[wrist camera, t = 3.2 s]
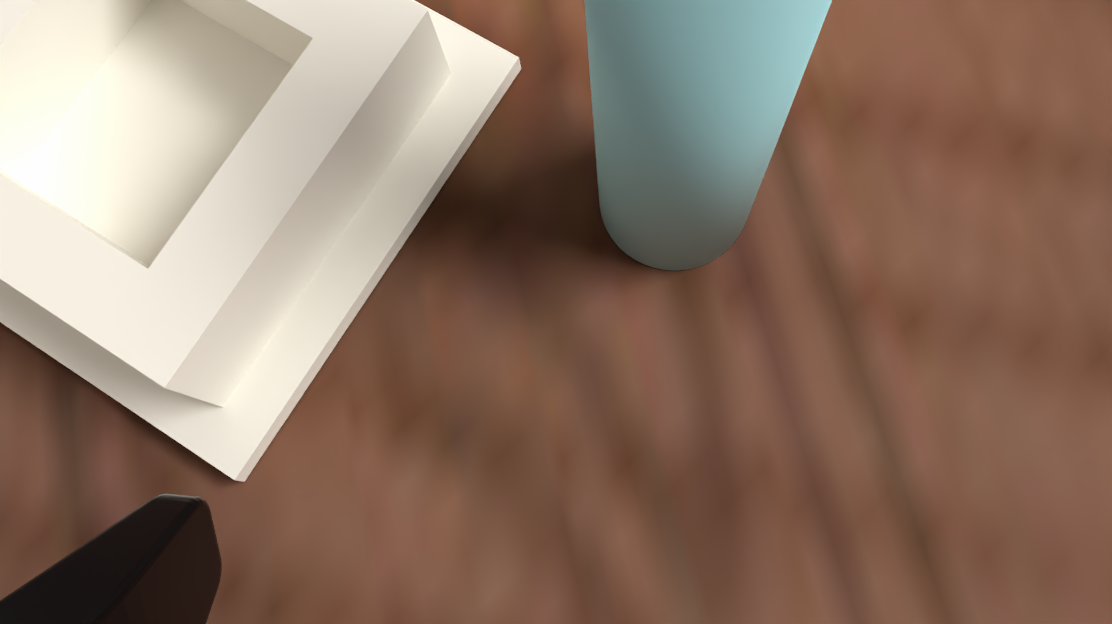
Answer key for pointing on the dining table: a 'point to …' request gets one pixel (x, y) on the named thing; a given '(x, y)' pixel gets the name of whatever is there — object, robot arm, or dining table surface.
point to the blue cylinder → (690, 116)
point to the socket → (220, 189)
